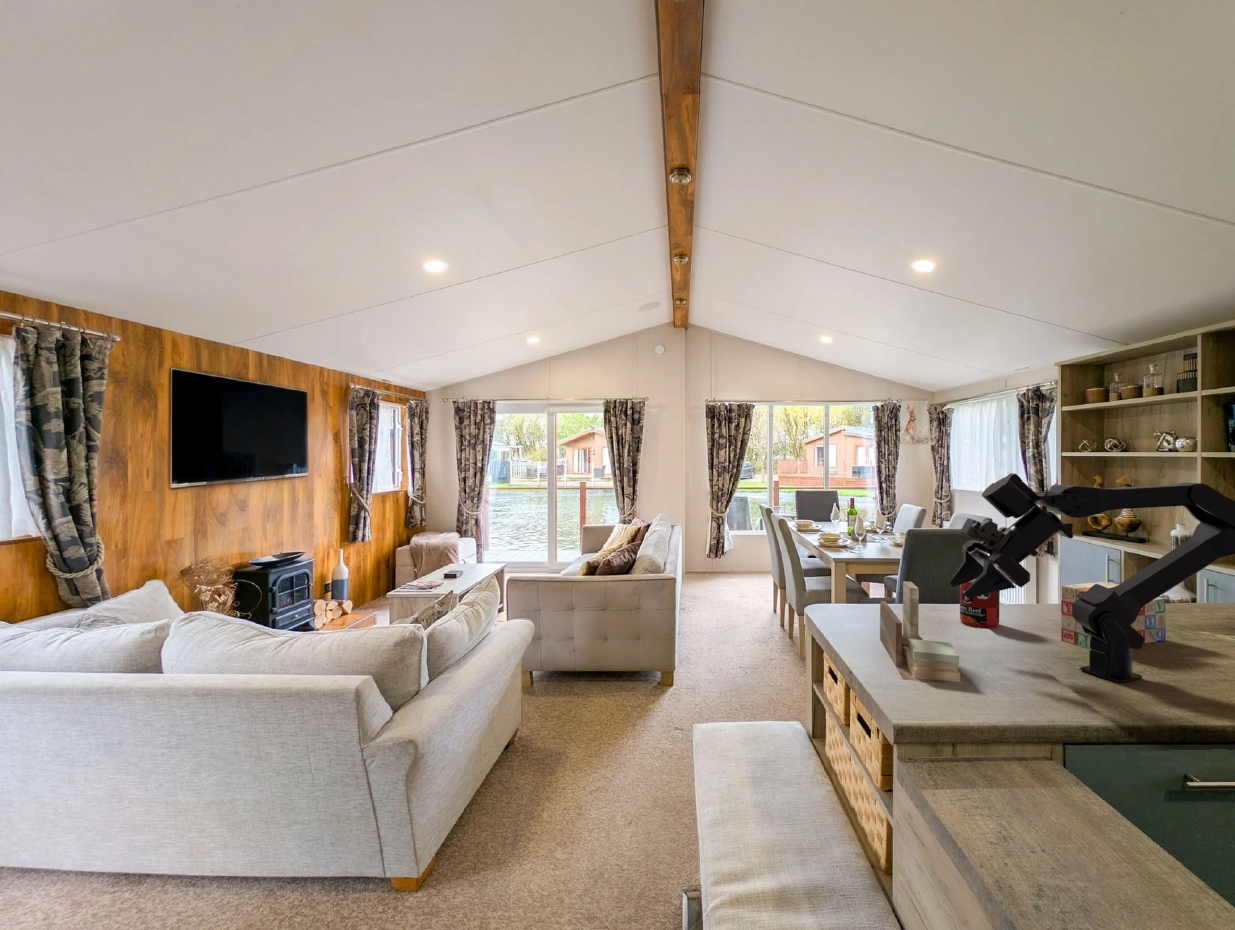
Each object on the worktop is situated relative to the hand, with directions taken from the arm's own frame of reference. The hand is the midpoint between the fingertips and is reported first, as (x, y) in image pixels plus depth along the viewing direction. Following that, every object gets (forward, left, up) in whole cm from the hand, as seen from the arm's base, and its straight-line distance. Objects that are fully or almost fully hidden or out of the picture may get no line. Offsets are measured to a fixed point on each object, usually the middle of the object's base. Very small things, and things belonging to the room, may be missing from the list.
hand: (957, 590), depth 110 cm
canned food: (-27, -17, -14) cm, 35 cm away
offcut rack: (+9, 0, -14) cm, 17 cm away
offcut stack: (+12, +5, -12) cm, 18 cm away
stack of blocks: (-43, +2, -14) cm, 45 cm away
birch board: (+7, -5, -12) cm, 15 cm away
